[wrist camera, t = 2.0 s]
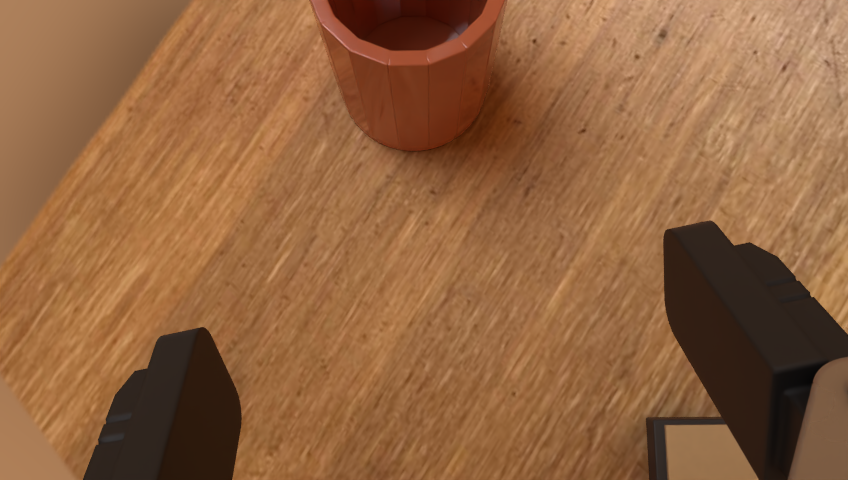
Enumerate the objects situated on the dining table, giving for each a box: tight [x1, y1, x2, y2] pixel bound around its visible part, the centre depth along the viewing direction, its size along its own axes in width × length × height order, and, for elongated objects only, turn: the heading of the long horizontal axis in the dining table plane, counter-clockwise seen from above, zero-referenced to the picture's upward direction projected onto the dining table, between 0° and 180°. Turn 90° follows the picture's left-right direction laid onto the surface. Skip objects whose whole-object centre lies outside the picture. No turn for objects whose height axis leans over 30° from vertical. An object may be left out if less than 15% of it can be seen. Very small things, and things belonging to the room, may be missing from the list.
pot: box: [309, 0, 507, 151], centre depth 27 cm, size 6×6×9 cm
